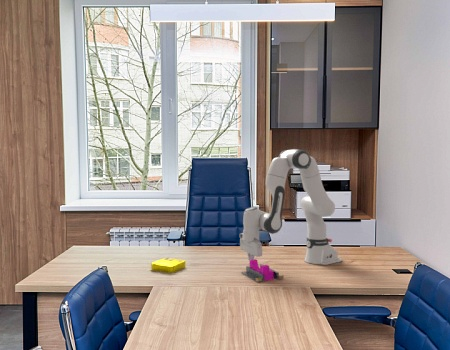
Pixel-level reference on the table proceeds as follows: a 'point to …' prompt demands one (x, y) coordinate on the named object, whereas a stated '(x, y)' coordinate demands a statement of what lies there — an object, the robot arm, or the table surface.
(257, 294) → the table surface
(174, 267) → the yellow flat square slab
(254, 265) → the toy block
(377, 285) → the table surface
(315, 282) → the table surface
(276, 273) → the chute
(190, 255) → the table surface
